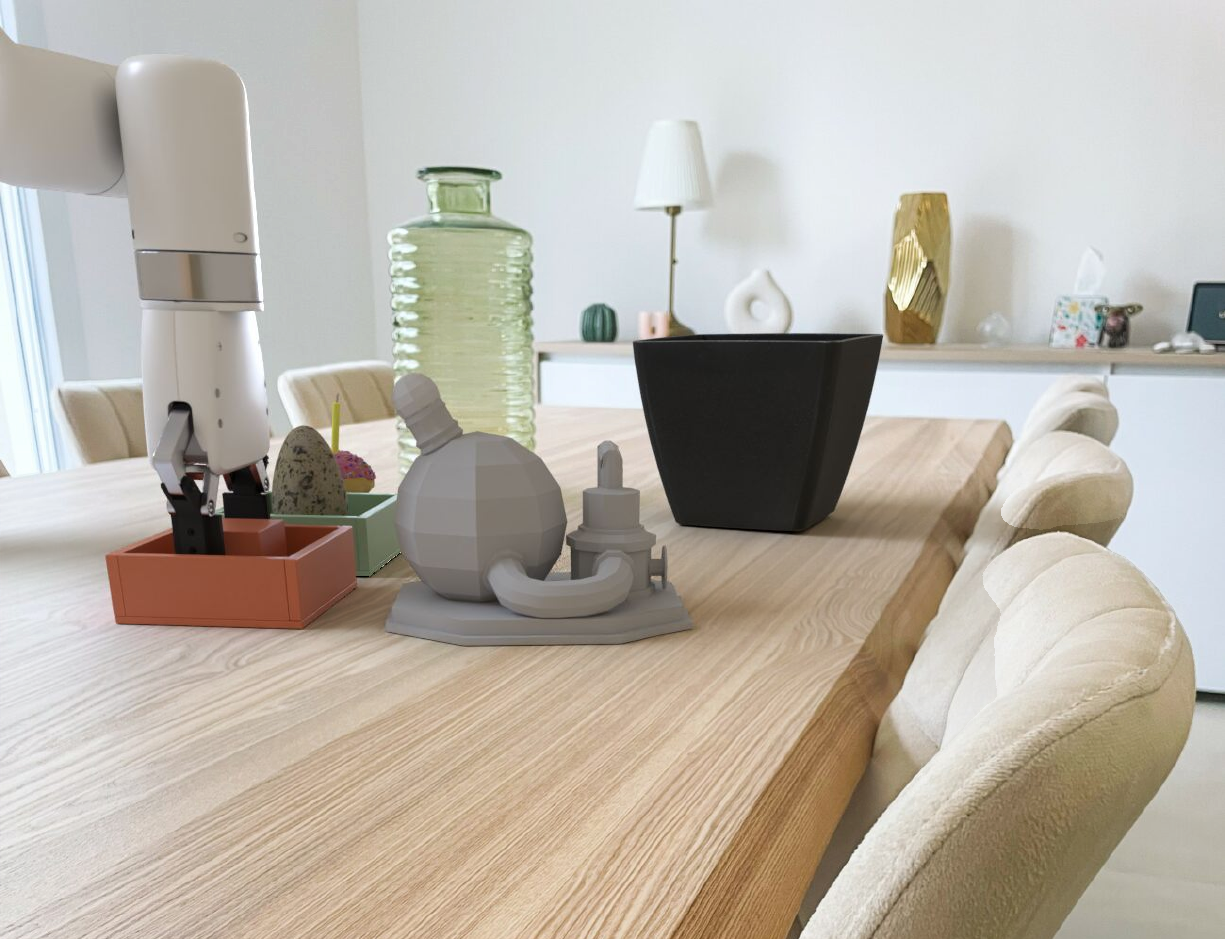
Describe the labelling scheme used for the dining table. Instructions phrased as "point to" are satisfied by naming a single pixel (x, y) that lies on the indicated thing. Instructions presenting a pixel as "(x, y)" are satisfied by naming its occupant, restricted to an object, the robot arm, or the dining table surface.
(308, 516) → the sage bin
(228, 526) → the terracotta block
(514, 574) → the grey distillation still model
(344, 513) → the decorative egg
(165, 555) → the terracotta bin
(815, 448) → the flower pot
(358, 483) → the donut with candle
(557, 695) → the dining table surface
